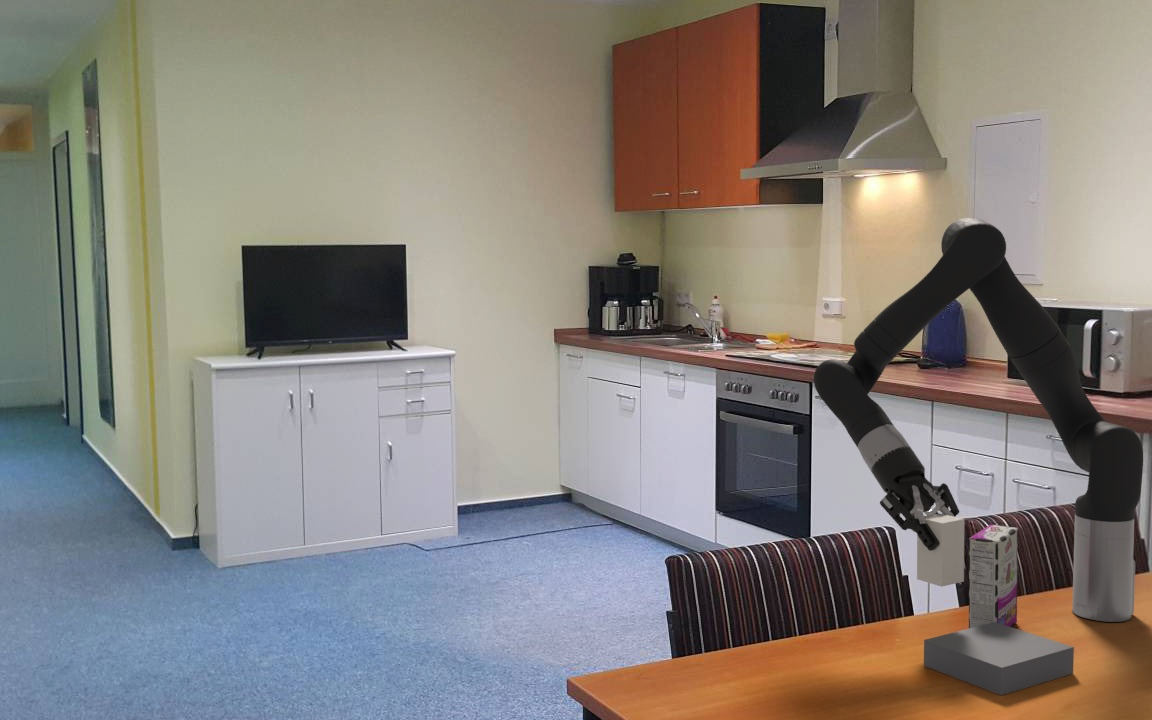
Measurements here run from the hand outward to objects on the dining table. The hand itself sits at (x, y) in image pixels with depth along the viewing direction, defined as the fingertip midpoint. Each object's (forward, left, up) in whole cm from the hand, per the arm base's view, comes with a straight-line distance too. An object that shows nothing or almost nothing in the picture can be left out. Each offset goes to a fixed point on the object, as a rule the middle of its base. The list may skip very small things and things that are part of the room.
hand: (947, 544), depth 176 cm
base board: (+1, +11, -17) cm, 20 cm away
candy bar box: (-14, -2, -17) cm, 22 cm away
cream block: (0, -1, -6) cm, 6 cm away
